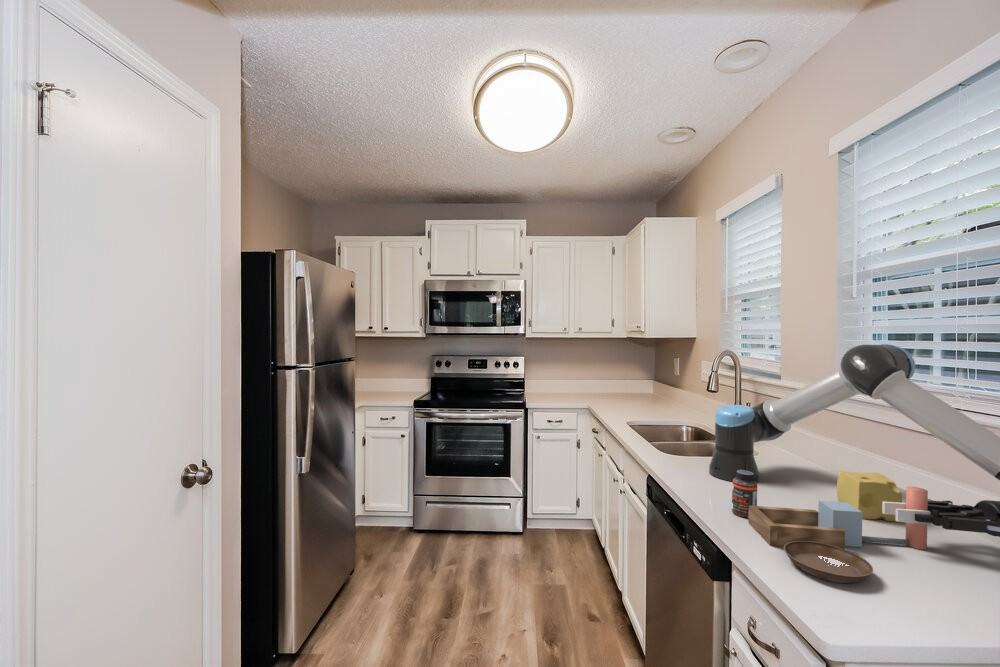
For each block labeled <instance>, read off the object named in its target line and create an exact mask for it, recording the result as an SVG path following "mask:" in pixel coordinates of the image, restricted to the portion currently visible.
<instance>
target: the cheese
mask: <svg viewBox="0 0 1000 667" xmlns="http://www.w3.org/2000/svg"><path fill="white" fill-rule="evenodd" d="M836 481H837V482H836V484H837V485H836V494H837V502H846V503H848V504H850V505H851V506H853V507H855V508H856V509H858V510H860V511H861V512H862V520H865V519H866V520H878V519H881V520H885V521H887V522H895V523H898V522H897V521H896V520H895V515H890V514H883V513H882V501H883V502H899V503H903V495H902V494H903V493H902V492H901V491H900V490H899V488H898V487H897V484H896V482H895V481H894V480H892V479H890V478H889V477H887V476H885V475H884V474H882V473H880V472H857V471H856V472H854V471H842V470H840V471H839V473H838V476H837V480H836Z"/></svg>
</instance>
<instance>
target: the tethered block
mask: <svg viewBox="0 0 1000 667" xmlns="http://www.w3.org/2000/svg"><path fill="white" fill-rule="evenodd" d="M905 488H906V490H905V499H906V500H905V503H906V509H911V510H926V511H927V509H928V501H929V500H928V496H929V492H928V490H927V489H925V488H921V487H919V486H918V487H917V486H906V487H905ZM817 512H818V527H831V528H841V529H843V530H844V531H845V547H853V548H855V547H856V548H862V547H863V543H875V544H876V543H877V544H891V545H905V546H908V547H911V548H912V549H915V550H916V549H917V550H928V524H923V523H909V522H905V538H895V537H894V538H893V537H881V536H865V535H863V519H862V512H861V511H860V510H858V509H856V508H855V507H853V506H851V505H850V504H848V503H846V502H838V501H833V500H832V501H830V500H818V510H817Z"/></svg>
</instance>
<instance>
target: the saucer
mask: <svg viewBox="0 0 1000 667" xmlns="http://www.w3.org/2000/svg"><path fill="white" fill-rule="evenodd" d="M783 550H784V552H785V554H786V555H787V557H788V558H789V560H790V561H791V562H792V563H793V564H794V565H795V566H797V568H799V569H800V570H802V571H803V572H806V574H809V575H811V576H813V577H816V578H819V579H822V580H824V579H825V580H824V581H827V582H833V583H839V584H854V583H858V582H861V581H863V580H865V579H867V578H868V577H869V576H870V575H871V574H872V573H873V572H874V567H873V566H872V564H871V563H870V562H868V561H867V560H866V559H865V558H863V557H861V556H860V555H858V554H856V553H854V552H852V551H849V550H846V549H845V550H844V549H841V548H838V547H835V546H832V545H828V544H823V543H818V542H811V541H793V542H789V543H787V544H785V546H783ZM818 556H823V557H827V558H832V559H835V560H838V561H840V562H842V563H845V564H843V566H842V564H841V565H840V566H839V567H837V566H838V565H836V566H834V565H835V564H832V565H830V564H831V563H830V562H829V563H827V562H828V559H825V561H826V562H825V561H824V558H823V557H822V559H820V558H819V557H818ZM846 564H847V565H849V566H845V565H846ZM828 565H829V566H828Z"/></svg>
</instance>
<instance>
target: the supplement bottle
mask: <svg viewBox="0 0 1000 667" xmlns="http://www.w3.org/2000/svg"><path fill="white" fill-rule="evenodd" d="M753 478H754V474H753V473H752V472H750V471H746V470H738V471H737V477H736V478H734V479H733V481H731V482H732V486H731V512H732V513H733V514H734V515H736V516H739V517H742V518H745V517H746V519H749V506H758V482H757V481H756V482H755V481H754V480H753Z"/></svg>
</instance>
